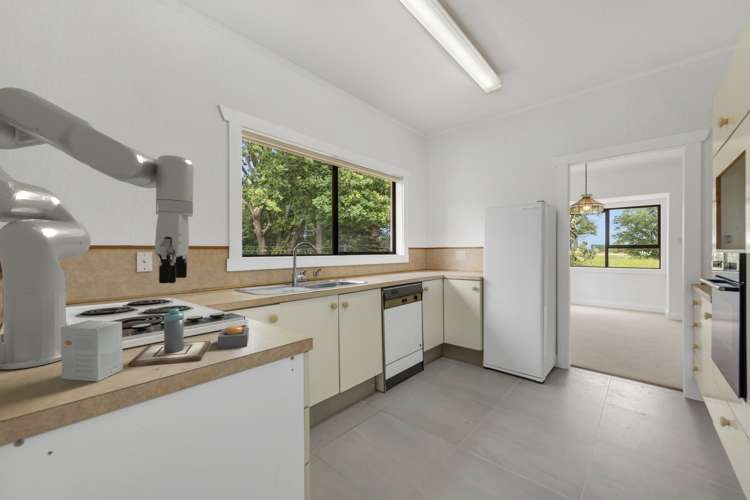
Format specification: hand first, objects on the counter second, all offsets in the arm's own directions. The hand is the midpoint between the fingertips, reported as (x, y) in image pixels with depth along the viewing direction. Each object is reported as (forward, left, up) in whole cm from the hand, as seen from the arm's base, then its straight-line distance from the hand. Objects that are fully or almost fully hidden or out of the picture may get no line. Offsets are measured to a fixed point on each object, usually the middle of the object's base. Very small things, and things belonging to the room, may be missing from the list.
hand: (173, 280), depth 75 cm
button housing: (+13, +5, -18) cm, 23 cm away
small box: (-12, -9, -18) cm, 24 cm away
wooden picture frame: (0, 0, -18) cm, 18 cm away
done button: (+13, +5, -16) cm, 21 cm away
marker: (0, 0, -17) cm, 17 cm away
